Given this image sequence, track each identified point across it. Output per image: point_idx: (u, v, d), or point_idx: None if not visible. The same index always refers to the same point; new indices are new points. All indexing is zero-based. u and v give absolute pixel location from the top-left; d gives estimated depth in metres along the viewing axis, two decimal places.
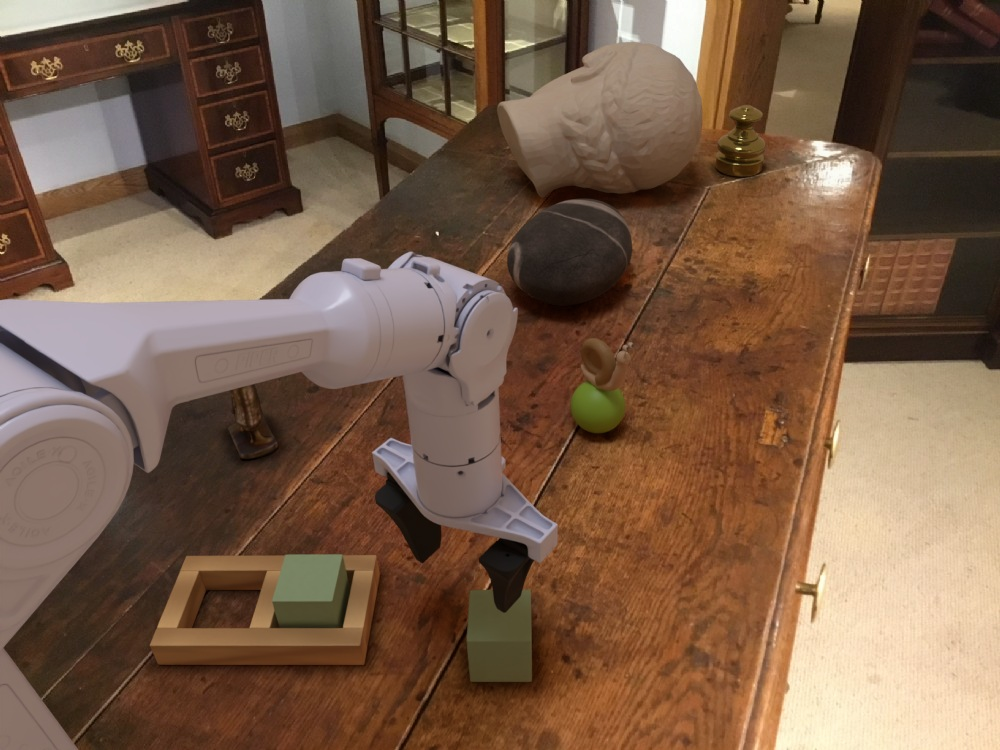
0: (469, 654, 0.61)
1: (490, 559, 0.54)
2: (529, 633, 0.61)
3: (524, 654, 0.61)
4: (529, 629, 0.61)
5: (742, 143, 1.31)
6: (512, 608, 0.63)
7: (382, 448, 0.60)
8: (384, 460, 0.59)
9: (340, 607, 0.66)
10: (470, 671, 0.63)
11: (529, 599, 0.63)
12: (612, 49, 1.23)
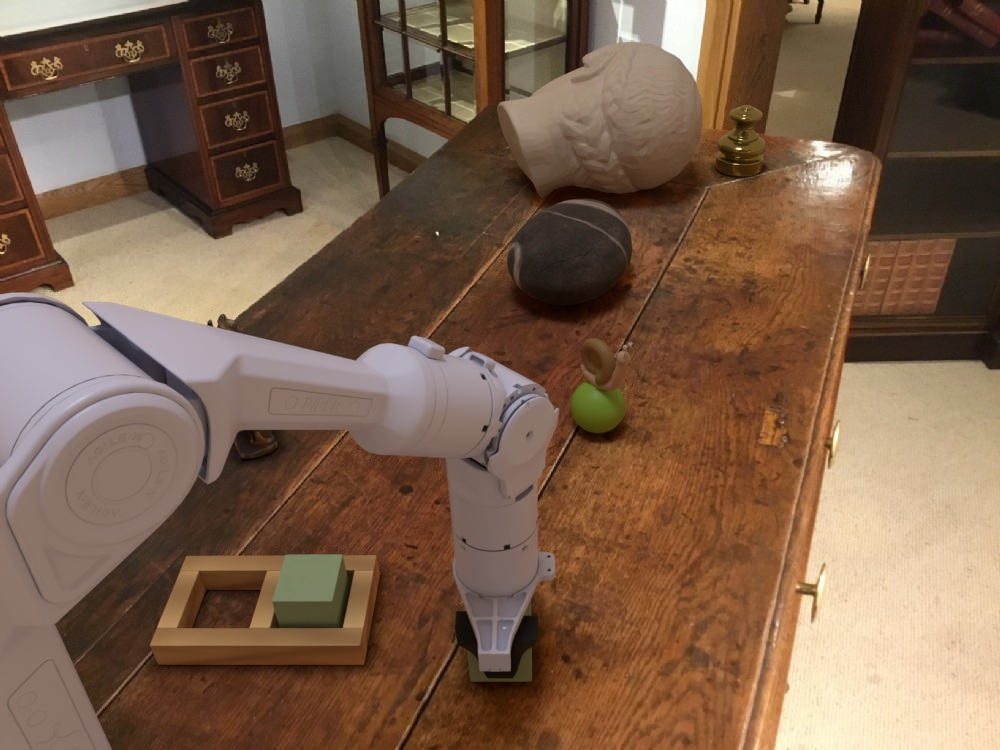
0: (469, 654, 0.61)
1: (461, 619, 0.58)
2: None
3: (524, 653, 0.61)
4: None
5: (742, 143, 1.31)
6: None
7: None
8: None
9: (340, 607, 0.66)
10: (470, 671, 0.63)
11: None
12: (612, 49, 1.23)
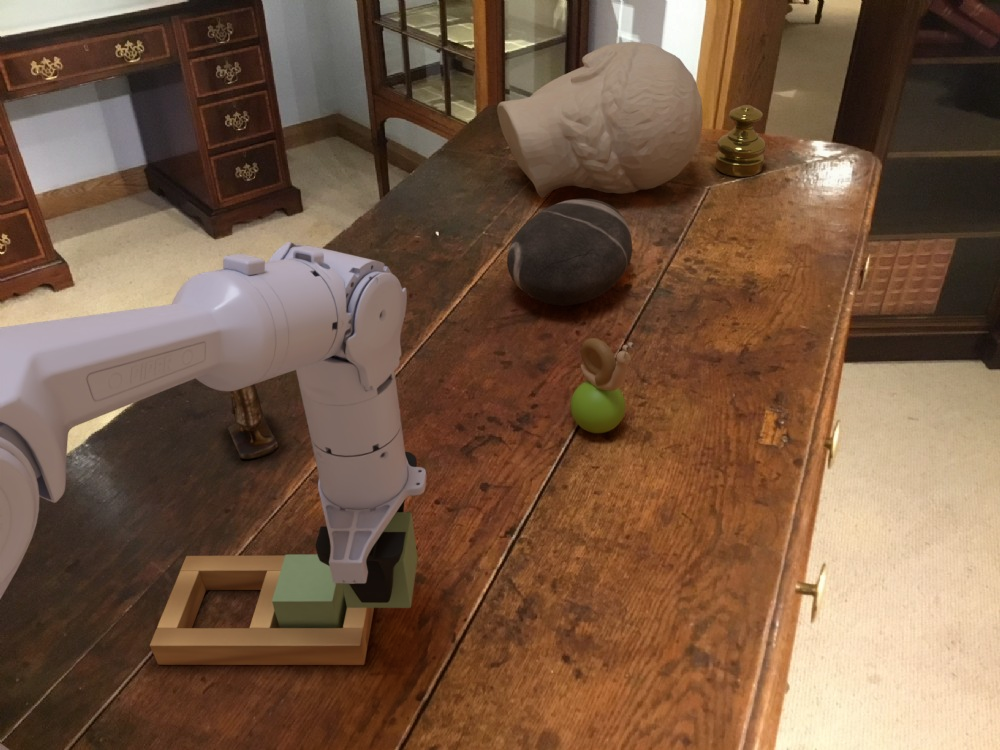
0: None
1: (324, 534, 0.55)
2: (403, 553, 0.58)
3: (398, 575, 0.58)
4: (403, 550, 0.58)
5: (742, 143, 1.31)
6: (389, 529, 0.60)
7: None
8: None
9: (340, 607, 0.66)
10: (345, 595, 0.60)
11: (408, 521, 0.60)
12: (612, 49, 1.23)
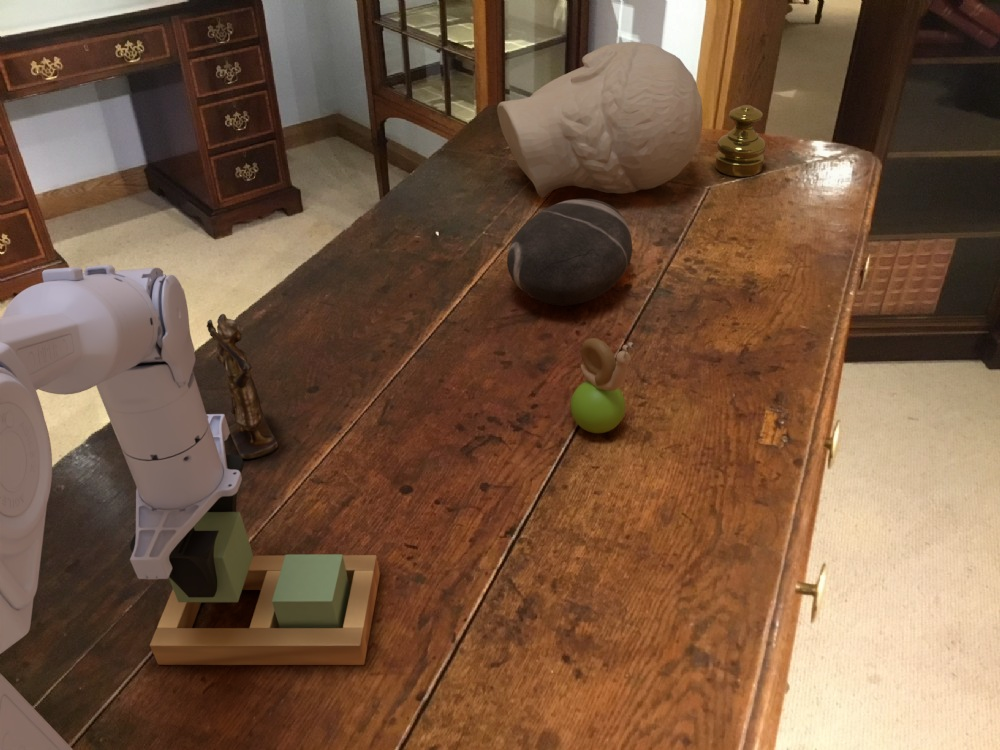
0: None
1: None
2: (224, 551, 0.62)
3: (221, 572, 0.62)
4: (225, 547, 0.62)
5: (742, 143, 1.31)
6: (216, 528, 0.63)
7: (208, 416, 0.65)
8: None
9: (340, 607, 0.66)
10: (174, 590, 0.63)
11: (235, 520, 0.64)
12: (612, 49, 1.23)
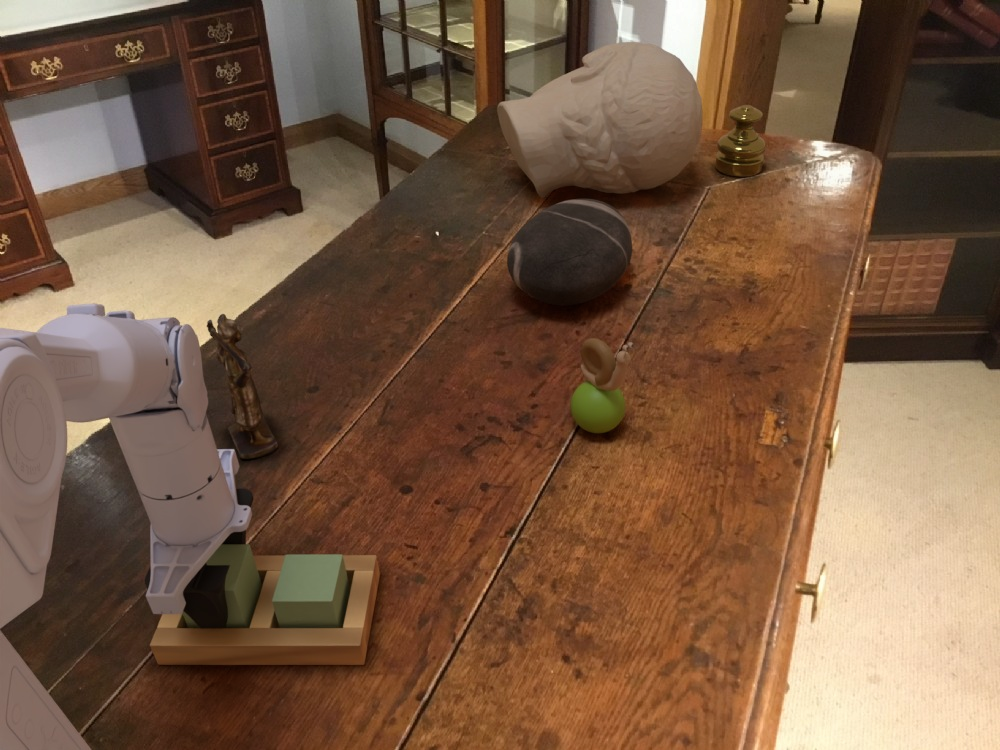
0: None
1: None
2: (234, 583, 0.64)
3: (231, 603, 0.64)
4: (235, 580, 0.64)
5: (742, 143, 1.31)
6: (226, 560, 0.66)
7: (219, 451, 0.67)
8: None
9: (340, 607, 0.66)
10: (186, 621, 0.66)
11: (245, 553, 0.66)
12: (612, 49, 1.23)
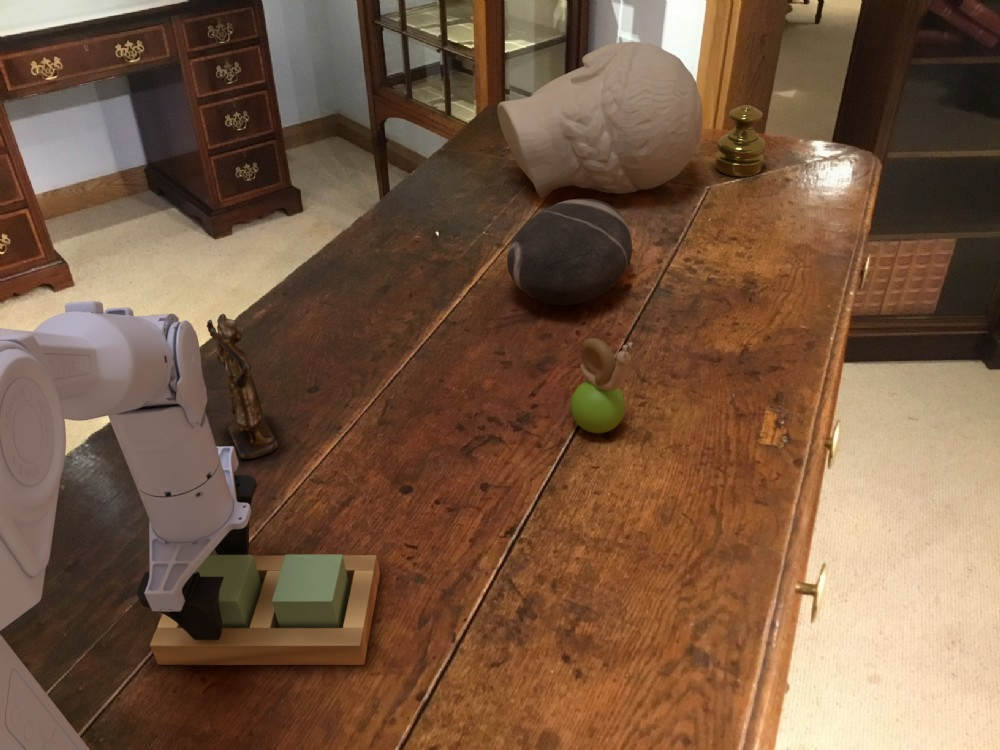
0: None
1: (147, 579, 0.59)
2: (238, 594, 0.64)
3: (235, 614, 0.65)
4: (239, 590, 0.65)
5: (742, 143, 1.31)
6: (230, 571, 0.66)
7: (218, 449, 0.67)
8: None
9: (340, 607, 0.66)
10: None
11: (248, 563, 0.67)
12: (612, 49, 1.23)
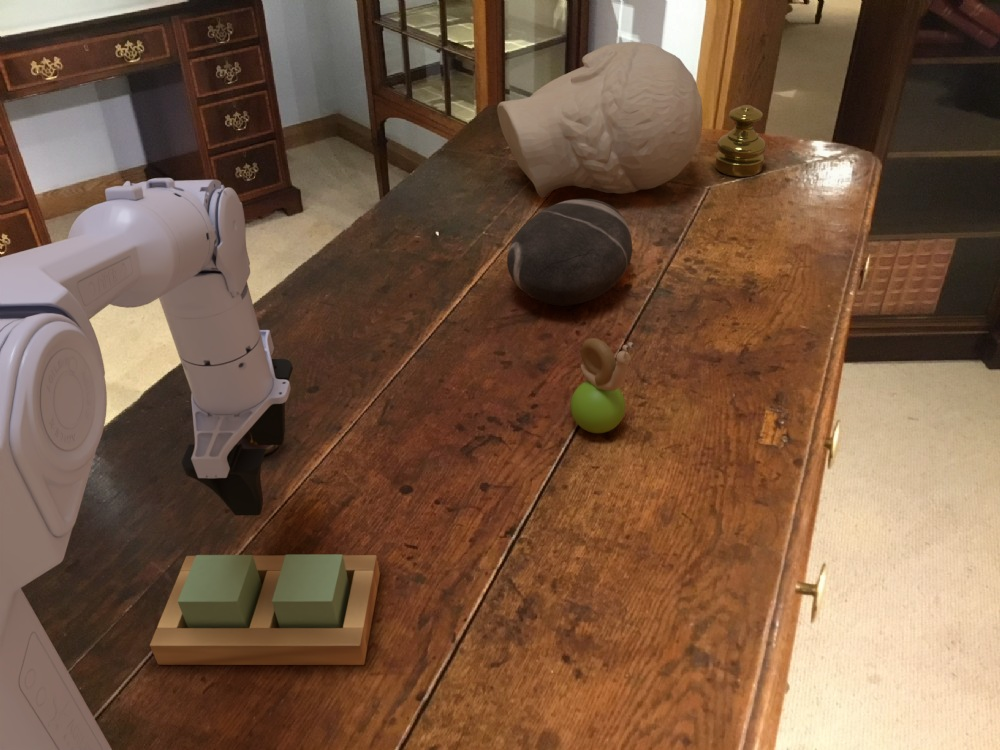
0: (184, 614, 0.65)
1: (190, 451, 0.61)
2: (238, 594, 0.64)
3: (235, 614, 0.65)
4: (239, 590, 0.65)
5: (742, 143, 1.31)
6: (230, 571, 0.66)
7: None
8: None
9: (340, 607, 0.66)
10: None
11: (248, 563, 0.67)
12: (612, 49, 1.23)
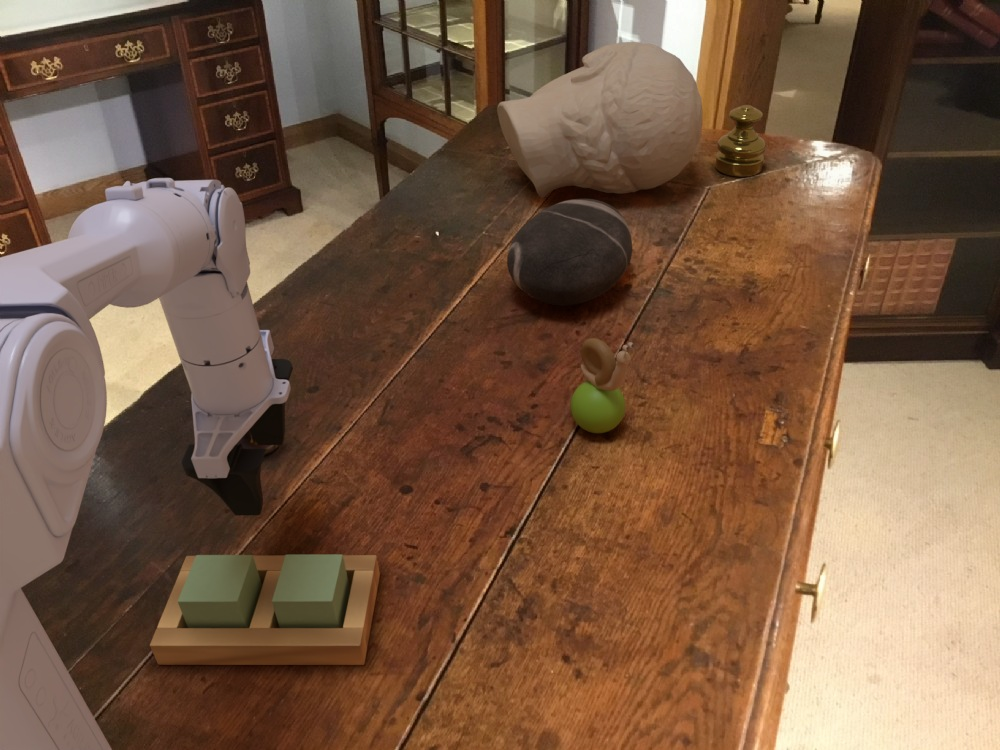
0: (184, 614, 0.65)
1: (190, 451, 0.61)
2: (238, 594, 0.64)
3: (235, 614, 0.65)
4: (239, 590, 0.65)
5: (742, 143, 1.31)
6: (230, 571, 0.66)
7: None
8: None
9: (340, 607, 0.66)
10: None
11: (248, 563, 0.67)
12: (612, 49, 1.23)
